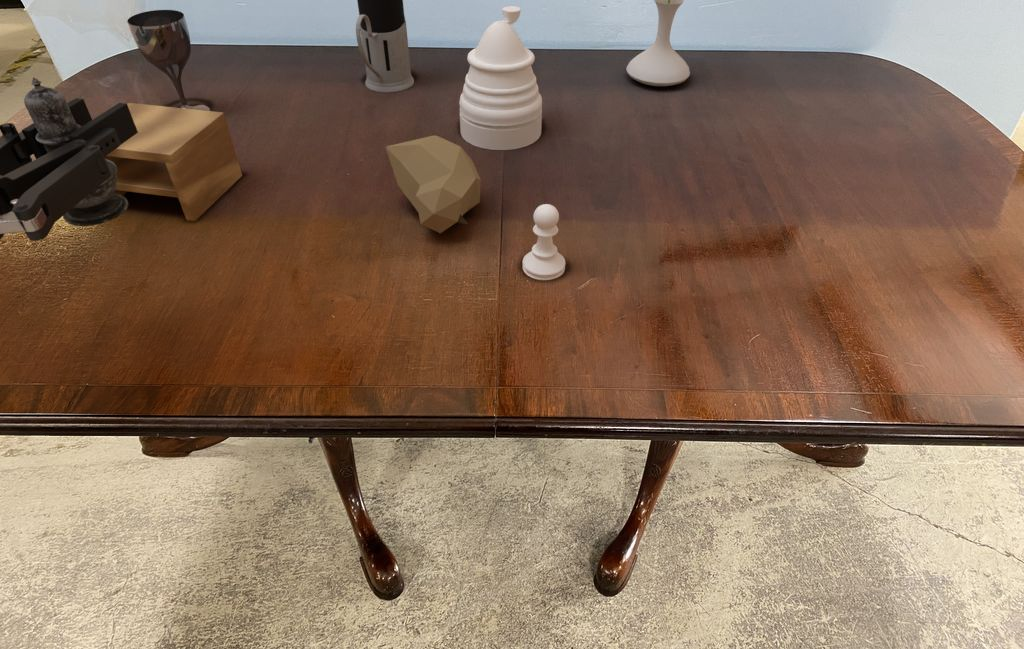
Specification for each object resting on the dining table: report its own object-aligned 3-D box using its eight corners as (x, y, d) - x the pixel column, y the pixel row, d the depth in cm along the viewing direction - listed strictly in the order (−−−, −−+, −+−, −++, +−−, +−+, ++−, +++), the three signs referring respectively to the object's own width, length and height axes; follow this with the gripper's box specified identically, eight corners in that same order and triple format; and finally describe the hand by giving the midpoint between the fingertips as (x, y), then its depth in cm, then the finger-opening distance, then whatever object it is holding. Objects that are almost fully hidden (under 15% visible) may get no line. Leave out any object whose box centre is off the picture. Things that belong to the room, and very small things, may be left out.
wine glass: (173, 102, 113) (141, 9, 103) (220, 103, 113) (192, 10, 103) (153, 123, 107) (117, 26, 97) (201, 124, 107) (170, 27, 97)
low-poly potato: (418, 186, 94) (353, 179, 84) (456, 120, 89) (392, 105, 79) (480, 257, 88) (418, 258, 79) (525, 191, 83) (464, 184, 74)
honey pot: (509, 107, 113) (510, -8, 101) (557, 135, 105) (564, 14, 93) (445, 127, 107) (437, 7, 95) (491, 158, 99) (489, 32, 87)
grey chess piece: (64, 235, 57) (-8, 99, 49) (55, 204, 61) (-13, 73, 53) (137, 215, 59) (81, 82, 51) (125, 186, 63) (70, 58, 55)
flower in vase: (636, 64, 128) (656, -87, 111) (695, 74, 124) (724, -80, 107) (613, 88, 119) (631, -72, 102) (676, 100, 115) (704, -64, 99)
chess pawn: (537, 254, 81) (540, 189, 75) (572, 269, 79) (578, 203, 73) (513, 275, 78) (514, 209, 72) (549, 291, 76) (553, 224, 70)
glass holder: (421, 75, 123) (413, -13, 113) (392, 107, 112) (380, 13, 102) (376, 71, 124) (365, -17, 114) (344, 101, 114) (328, 8, 104)
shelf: (99, 213, 87) (66, 142, 81) (154, 169, 96) (128, 102, 89) (196, 226, 85) (170, 154, 79) (243, 180, 94) (223, 112, 87)
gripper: (-198, 297, 46) (45, 144, 63) (10, 332, 44) (204, 163, 61) (-283, 204, 41) (5, 65, 58) (-54, 237, 39) (177, 82, 56)
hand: (106, 115), depth 60 cm, fingers closed on grey chess piece, 4 cm apart
